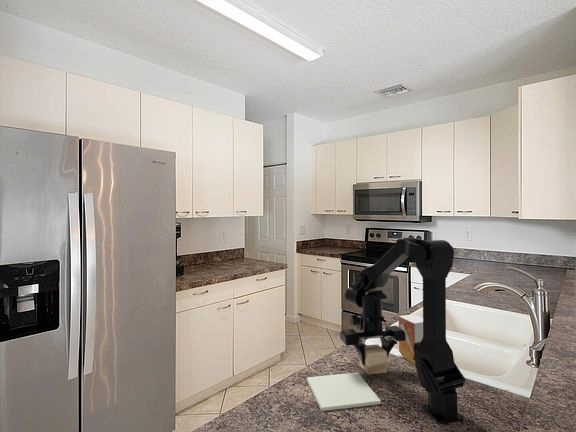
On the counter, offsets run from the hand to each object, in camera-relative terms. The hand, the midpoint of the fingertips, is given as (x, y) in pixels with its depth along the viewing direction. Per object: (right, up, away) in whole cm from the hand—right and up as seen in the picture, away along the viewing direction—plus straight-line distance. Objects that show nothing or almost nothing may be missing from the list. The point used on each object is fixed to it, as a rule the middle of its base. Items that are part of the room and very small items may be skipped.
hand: (373, 363), depth 98 cm
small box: (+15, -2, +7) cm, 17 cm away
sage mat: (-12, -2, -12) cm, 17 cm away
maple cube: (0, -2, 0) cm, 2 cm away
